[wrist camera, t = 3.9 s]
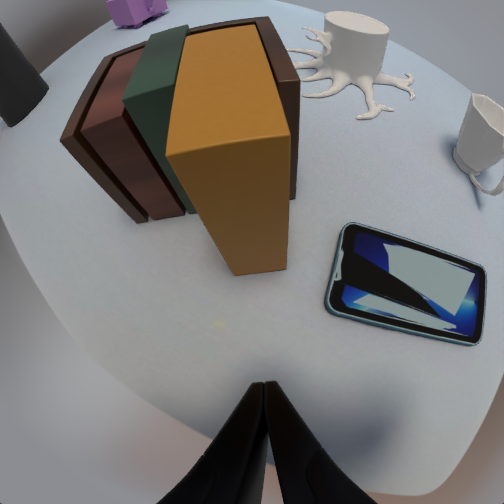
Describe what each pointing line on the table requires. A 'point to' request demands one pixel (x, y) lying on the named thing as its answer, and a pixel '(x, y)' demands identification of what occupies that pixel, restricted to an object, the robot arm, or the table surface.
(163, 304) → the table surface
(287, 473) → the robot arm
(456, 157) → the cup
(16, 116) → the vase
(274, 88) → the ochre book
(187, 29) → the bookshelf
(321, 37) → the tree stump
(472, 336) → the smartphone
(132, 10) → the teapot
